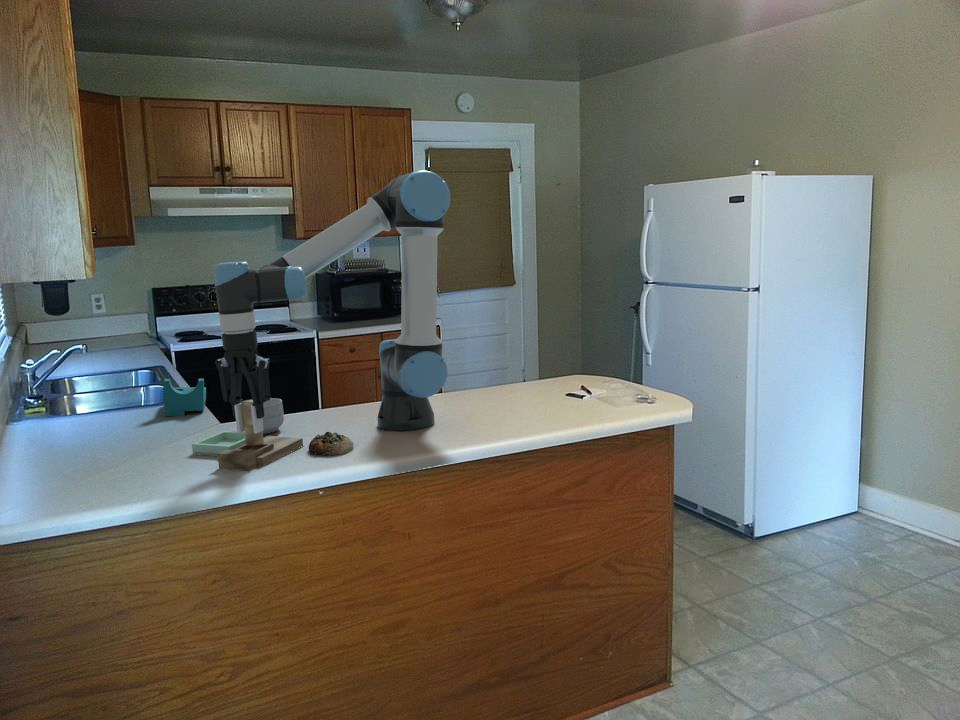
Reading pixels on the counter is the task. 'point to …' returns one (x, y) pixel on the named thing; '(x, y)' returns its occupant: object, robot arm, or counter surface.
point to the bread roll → (330, 444)
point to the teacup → (272, 415)
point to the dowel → (250, 426)
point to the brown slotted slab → (272, 448)
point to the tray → (219, 443)
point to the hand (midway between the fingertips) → (250, 431)
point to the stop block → (237, 460)
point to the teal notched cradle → (183, 398)
